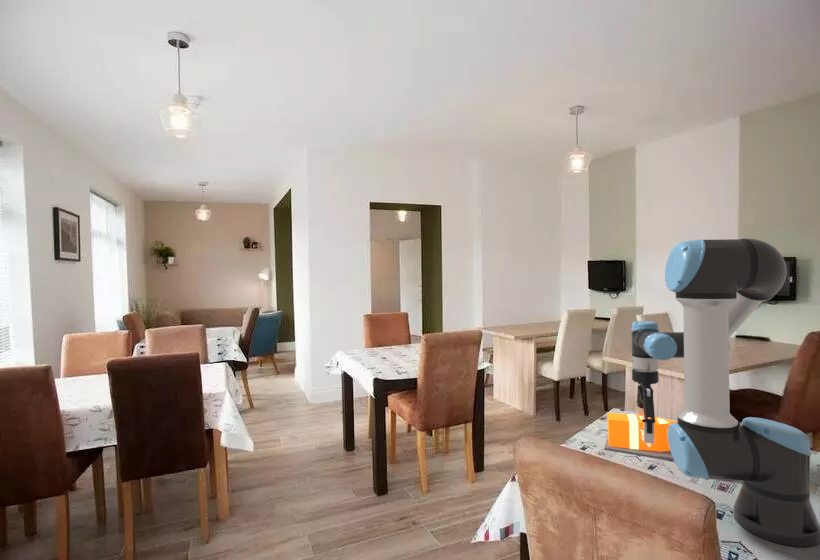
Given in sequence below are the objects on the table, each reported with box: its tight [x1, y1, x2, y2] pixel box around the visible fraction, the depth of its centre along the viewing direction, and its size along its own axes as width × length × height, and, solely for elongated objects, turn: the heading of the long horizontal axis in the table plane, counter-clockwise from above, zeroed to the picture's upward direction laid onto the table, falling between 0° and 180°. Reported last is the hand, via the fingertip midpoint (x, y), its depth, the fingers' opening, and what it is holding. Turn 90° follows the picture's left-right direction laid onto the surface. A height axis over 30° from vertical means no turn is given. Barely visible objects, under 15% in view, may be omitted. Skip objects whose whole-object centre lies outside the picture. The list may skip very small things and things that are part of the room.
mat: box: [604, 437, 675, 462], centre depth 145 cm, size 14×21×1 cm, turn 60°
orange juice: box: [607, 412, 677, 452], centre depth 144 cm, size 8×9×20 cm
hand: (645, 435), depth 144 cm, fingers open, 13 cm apart
